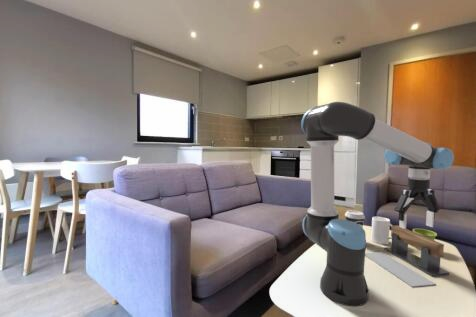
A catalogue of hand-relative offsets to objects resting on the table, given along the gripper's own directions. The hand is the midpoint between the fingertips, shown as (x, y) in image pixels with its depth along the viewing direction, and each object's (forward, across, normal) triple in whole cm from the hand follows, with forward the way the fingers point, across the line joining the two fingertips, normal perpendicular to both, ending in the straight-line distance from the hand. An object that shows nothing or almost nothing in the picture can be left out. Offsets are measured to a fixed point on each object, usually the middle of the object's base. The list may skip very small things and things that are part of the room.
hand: (416, 227), depth 104 cm
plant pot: (+16, +16, +10) cm, 24 cm away
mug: (+15, +2, +20) cm, 25 cm away
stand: (+15, 0, 0) cm, 15 cm away
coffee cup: (+15, -12, +24) cm, 31 cm away
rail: (+8, 0, 0) cm, 8 cm away
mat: (+15, -14, -4) cm, 21 cm away
